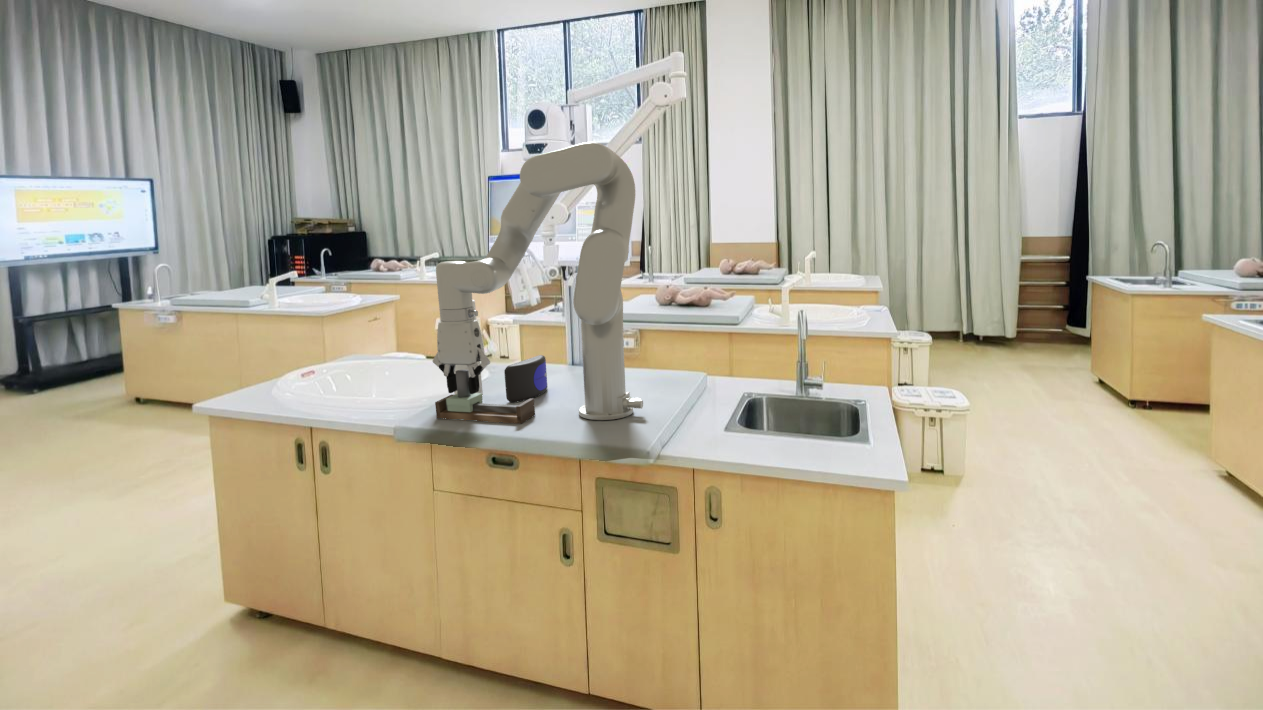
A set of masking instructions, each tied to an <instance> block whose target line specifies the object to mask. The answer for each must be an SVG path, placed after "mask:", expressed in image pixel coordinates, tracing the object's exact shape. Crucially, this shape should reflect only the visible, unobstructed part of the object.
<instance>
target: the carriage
mask: <svg viewBox="0 0 1263 710" xmlns="http://www.w3.org/2000/svg"><path fill="white" fill-rule="evenodd" d="M468 378H469V370H458V371H456V383H457V394H452V395H453V396H451V397H449V398H447V399H446V403H447V408H448V411H456V412H472V411H473V404H475V403H483V396H482V393H474V394H470V392H469V381H468Z"/></svg>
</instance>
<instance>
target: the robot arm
mask: <svg viewBox="0 0 1263 710" xmlns="http://www.w3.org/2000/svg"><path fill="white" fill-rule="evenodd" d="M519 180H520V182H519V184H518V186H517V188H516V189H515V191H514V192H513V194H512V196H511V198H510V199H509V201H508V202H507V204H506V205H505V207H504V209H503V210H502V213H501V215H500V228H499V231H498V234H497V237H496V239H495V241H494V243H493V244H492V247H491V248H490V249H489V251H488V252H487V254H486V255H485V258H483V259H479V260H475V261H474V260H473V261H470V262H469V261H468V262H467V261H463V260H448V261H441V262H439V263H437V265H436V266H435V276H436V287H437V295H438V296H437V299H438V309H439V318H440V321H439V322H438V325H437V331H436V332H437V334H436V335H437V336H436V337H437V338H436V341H437V342H436V347H437V352H436V353H435V355H434V357H433V359H432V363H433V364H434V365H435V366H436V367H438V369H439V370H440V371H441V372H442V373H443V376H444V377H446V386H447V392H448V394H452V393H454V392H455V391H457V383H456V374H454V371H455V365H467V367H468V370H469V373H470V377H469V378H468V381H469V392H470V394H474V393H476V392H478V391H479V387H480V386H479V375H480V374H481V375H482V372H483V371H484V369H485V368H486V367H488V366H489V365H490V364H491V360H490V359H489V357H488V356H487V355H486V353H485V346H484V340H483V335H482V332H481V331H482V330H481V327H480V323H479V321H478V319H476V320H474V317H475V316H476V317H478V316H479V311H478V310H476V311H475V310H474V307H473V301H472V300H473V294H482V295H484V294H485V295H486V294H490V293H492V292H495V291H496V290H498V289H501V288H503V287H504V286H505V285H507V283H508V282H509V280H510V278H511V277H512V276H513V274H514V273H515V271H516V269H517V268H518V266H519V265H520V263H521V261H522V260H523V258H524V256H525V255H526V252H527V251H528V248H529V246H530V245H531V243H532V241H533V239H534V237H535V235H536V233H537V232H538V229H539V228H540V227H541V224H542V223H543V222H544V220H545V218H546V217H547V216H548V214H549V212H550V210H552V208H553V205H554V204H555V203H556V201H557V199H558V198H559V196H560V195H561V193H562V192H563V193H565V192H568V191H571V190H575V189H579V188H583V187H587V186H591V185H593V186H595V188H596V192H597V193H596V203H595V205H594V206H595V207H594V214H593V216H594V217H593V222H592V228H591V232H590V234H588V235H587V236H586V238H585V239H584V241H583V243H582V246H581V249H580V255H579V260H578V268H577V272H576V279H575V284H574V285H575V287H574V292H573V308H574V309H573V310H574V311H575V315H577V317H578V318H579V319H580V323H581V324H580V325H581V326H580V327H581V330H580V331H581V332H580V333H581V353H582V354H581V355H582V371H583V372H582V374H583V387H584V388H583V389H584V390H583V391H584V405H581V407H579V409H578V415H579V416H580V417H581V418H583V419H587V420H592V421H609V420H617V419H623V418H625V417H626V418H627V417H629V416H630V415H632V414H633V412H634V409H643V407H644V400H642V398H641V397H640V398H639V397H635V398H634V397H631V396H630V395H631V394H630V393H631V392H630V391H626V372H625V370H626V369H625V353H624V352H625V350H624V349H625V348H624V347H625V344H624V341H625V340H624V339H625V338H624V300H623V293H622V290H621V288H622V286H621V285H622V280H623V275H624V268H625V263H626V262H627V260H628V257H629V251H630V250H629V249H630V240H631V239H630V238H631V232H632V225H633V219H634V211H635V203H636V184H635V179H634V176H633V173H632V171H631V169H630V167H629V166H628V164H627V163H626V162H625V161H624V160H623V159H622V158H621V156H619V155H618V154H617V153H616V152H614V150H612V149H611V148H609V147H607V146H606V145H604V144H603V143H600V142H597V141H587V142H582V143H578V144H574V145H571V146H567V147H564V148H560V149H556V150H553V151H549V152H543V153H541V154H536V155H534V156H531V157H529V158H528V159H527V160H525V162H524V163H523V164H522V165H521V168H520V172H519ZM479 361H480V365H479V366H478V363H477V362H479Z"/></svg>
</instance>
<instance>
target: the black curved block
mask: <svg viewBox="0 0 1263 710" xmlns="http://www.w3.org/2000/svg"><path fill="white" fill-rule="evenodd" d="M546 359H547V358H546V356H545V355H542V354H538V355H536V356H533V357H530V358H527V359H524V360H521V361H518V362H515V363H512V364H509V365H507V366H506V367H505V369H504V372H503V373H504V382H505V383H504V384H505V396H506V400H507V401H508V402H510V403H518V402H517V401H519V402H524V401H526V400H527V399H530V398H533V399H535V398H536V397H539V396H541V395H543V394H544V393H545V392H546V391H547V390H548V377H547V376H548V375H547V374H548V373H547V360H546ZM523 400H524V401H523Z"/></svg>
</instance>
